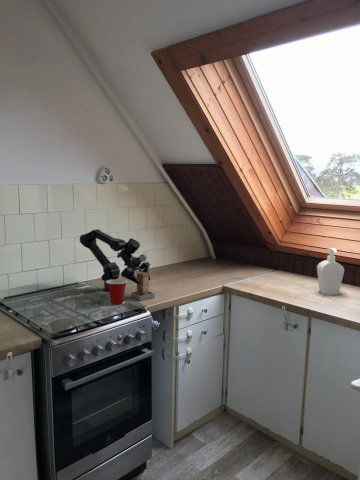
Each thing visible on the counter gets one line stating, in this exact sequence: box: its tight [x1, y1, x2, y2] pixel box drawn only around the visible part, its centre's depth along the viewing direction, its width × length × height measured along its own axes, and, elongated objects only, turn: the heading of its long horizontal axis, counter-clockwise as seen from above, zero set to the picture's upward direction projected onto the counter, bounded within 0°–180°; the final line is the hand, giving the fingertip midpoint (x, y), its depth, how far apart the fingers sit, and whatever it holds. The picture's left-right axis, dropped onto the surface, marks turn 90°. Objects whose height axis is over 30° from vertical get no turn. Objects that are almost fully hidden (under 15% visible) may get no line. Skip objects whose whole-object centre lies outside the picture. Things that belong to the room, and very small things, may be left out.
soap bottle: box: [316, 247, 345, 296], centre depth 234 cm, size 12×10×26 cm
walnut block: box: [136, 271, 150, 296], centre depth 225 cm, size 4×4×13 cm
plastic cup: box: [106, 278, 128, 306], centre depth 216 cm, size 11×11×12 cm
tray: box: [130, 290, 156, 302], centre depth 226 cm, size 9×9×2 cm
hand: (144, 281), depth 224 cm, fingers open, 9 cm apart
